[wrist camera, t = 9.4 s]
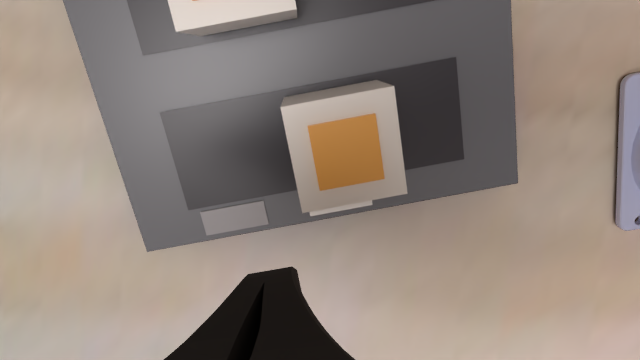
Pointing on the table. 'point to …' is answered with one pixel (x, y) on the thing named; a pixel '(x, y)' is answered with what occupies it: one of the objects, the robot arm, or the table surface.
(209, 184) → the switch plate
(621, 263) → the table surface
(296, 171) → the white orange block
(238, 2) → the white orange cube
